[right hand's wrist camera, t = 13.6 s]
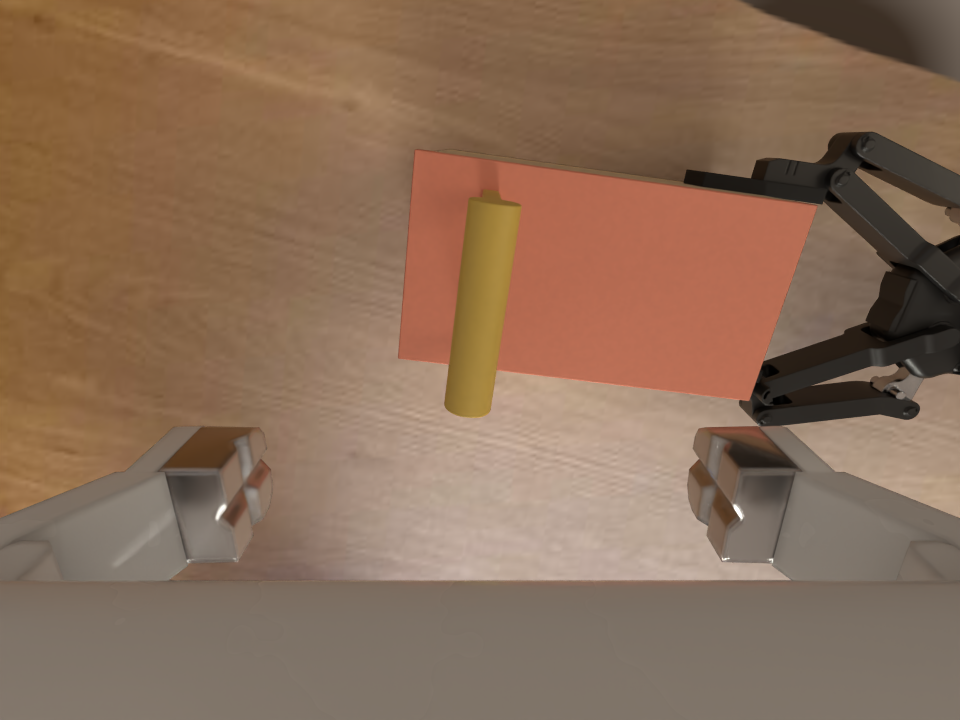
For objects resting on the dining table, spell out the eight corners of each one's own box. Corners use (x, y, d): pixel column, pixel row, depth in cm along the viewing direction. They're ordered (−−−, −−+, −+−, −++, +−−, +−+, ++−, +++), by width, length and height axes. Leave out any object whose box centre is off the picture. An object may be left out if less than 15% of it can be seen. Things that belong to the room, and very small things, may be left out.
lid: (401, 350, 27) (369, 432, 20) (417, 149, 24) (386, 151, 16) (739, 391, 28) (837, 486, 20) (804, 202, 25) (952, 230, 17)
